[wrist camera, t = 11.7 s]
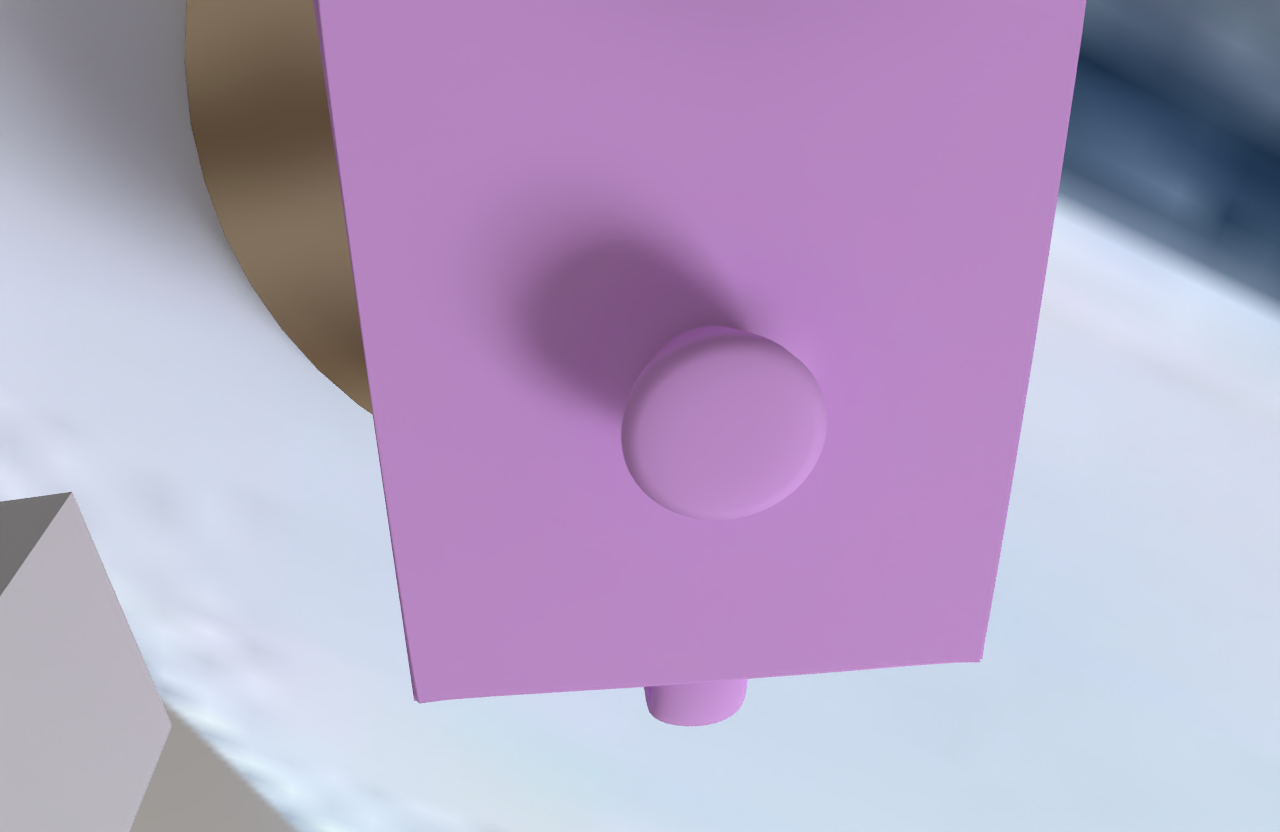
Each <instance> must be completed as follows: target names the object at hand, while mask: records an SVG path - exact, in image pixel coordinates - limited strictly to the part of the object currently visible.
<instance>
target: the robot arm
mask: <svg viewBox="0 0 1280 832" xmlns="http://www.w3.org/2000/svg"><path fill="white" fill-rule="evenodd" d="M171 726H172V725H171V722H170V720H169V718H168V715H167V713H166V711H165V708H164V706H163V704H162V701H161V699H160V697H159V694H158V692H157V690H156V687H155V685H154V683H153V680H152V678H151V675H150V673H149V671H148V668H147V666H146V664H145V661H144V659H143V657H142V654H141V652H140V650H139V647H138V645H137V643H136V640H135V638H134V636H133V633H132V631H131V629H130V626H129V624H128V622H127V619H126V617H125V615H124V612H123V610H122V608H121V605H120V603H119V601H118V598H117V596H116V594H115V591H114V589H113V587H112V584H111V582H110V580H109V577H108V575H107V573H106V570H105V568H104V566H103V563H102V561H101V558H100V556H99V554H98V551H97V549H96V547H95V544H94V542H93V540H92V537H91V535H90V533H89V530H88V528H87V526H86V523H85V521H84V519H83V516H82V514H81V512H80V509H79V507H78V505H77V502H76V500H75V498H74V495H73V493H72V492H68V493H61V494H54V495H46V496H39V497H32V498H25V499H18V500H10V501H3V502H0V832H129V831H130V829H131V826H132V824H133V821H134V818H135V816H136V814H137V811H138V808H139V806H140V804H141V801H142V799H143V796H144V794H145V791H146V789H147V786H148V784H149V781H150V779H151V776H152V774H153V771H154V769H155V767H156V764H157V762H158V759H159V757H160V754H161V752H162V749H163V747H164V744H165V742H166V739H167V737H168V734H169V732H170V729H171Z"/></svg>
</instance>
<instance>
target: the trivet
mask: <svg viewBox="0 0 1280 832" xmlns="http://www.w3.org/2000/svg"><path fill="white" fill-rule="evenodd" d="M185 71H186V81H187V91H188V101H189V111H190V120H191V126H192V130H193V135H194V139H195V143H196V147H197V152H198V156H199V160H200V164H201V169H202V173H203V177H204V181H205V184H206V186H207V189H208V192H209V194H210V197H211V200H212V202H213V205H214V208H215V210H216V213H217V216H218V218H219V221H220V224H221V226H222V229H223V232H224V234H225V236H226V238H227V240H228V242H229V244H230V246H231V248H232V250H233V252H234V254H235V255H236V257H237V259H238V261H239V263H240V265H241V267H242V269H243V271H244V272H245V274H246V276H247V278H248V280H249V282H250V284H251V286H252V287H253V288H254V290H255V291H256V293H257V294H258V296H259V297H260V298H261V300H262V301H263V303H264V304H265V306H266V307H267V308H268V310H269V311H270V313H271V314H272V316H273V317H274V318H275V320H276V321H277V323H278V324H279V326H280V327H281V329H282V330H283V331H284V332H285V333H286V334H287V335H288V337H289V338H290V339H291V340H292V341H293V342H294V343H295V344H296V346H297V347H298V348H299V349H300V350H301V351H302V352H303V353H304V354H305V356H306V357H307V358H308V359H309V360H310V361H311V362H312V363H313V364H314V366H315V367H316V368H317V369H318V370H319V371H320V372H321V373H323V374H324V375H325V376H326V377H327V378H328V379H329V380H331V381H332V382H333V383H334V384H335V385H336V386H337V387H339V388H340V389H341V390H342V391H343V392H344V393H345V394H347V395H348V396H349V397H350V398H351V399H352V400H353V401H355V402H356V403H357V404H358V405H360V406H361V407H363V408H364V409H365V410H367V411H368V412H370V413H371V414H373V412H372V405H371V398H370V391H369V384H368V377H367V371H366V364H365V357H364V350H363V343H362V336H361V329H360V322H359V315H358V308H357V301H356V294H355V288H354V281H353V274H352V267H351V260H350V253H349V246H348V239H347V232H346V225H345V218H344V211H343V205H342V198H341V191H340V184H339V177H338V170H337V163H336V156H335V149H334V142H333V135H332V128H331V121H330V115H329V108H328V101H327V94H326V87H325V80H324V73H323V66H322V59H321V52H320V45H319V38H318V31H317V24H316V18H315V11H314V4H313V0H187V1H186V33H185Z"/></svg>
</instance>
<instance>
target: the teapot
mask: <svg viewBox="0 0 1280 832" xmlns="http://www.w3.org/2000/svg"><path fill="white" fill-rule="evenodd" d="M313 4H314V11H315V18H316V24H317V31H318V38H319V45H320V52H321V59H322V66H323V73H324V80H325V87H326V94H327V101H328V108H329V115H330V121H331V128H332V135H333V142H334V149H335V156H336V163H337V170H338V177H339V184H340V191H341V198H342V205H343V211H344V218H345V225H346V232H347V239H348V246H349V253H350V260H351V267H352V274H353V281H354V288H355V294H356V301H357V308H358V315H359V322H360V329H361V336H362V343H363V350H364V357H365V364H366V371H367V377H368V384H369V391H370V398H371V405H372V412H373V419H374V426H375V433H376V440H377V447H378V453H379V460H380V467H381V474H382V481H383V488H384V495H385V502H386V509H387V516H388V523H389V530H390V536H391V543H392V550H393V557H394V564H395V571H396V578H397V585H398V592H399V599H400V605H401V612H402V619H403V626H404V633H405V640H406V647H407V654H408V661H409V668H410V674H411V681H412V688H413V695H414V701H417V702H419V703H426V702H433V701H440V700H449V699H462V698H475V697H489V696H504V695H520V694H536V693H552V692H568V691H584V690H600V689H616V688H632V687H644V690H645V697H646V702H647V706H648V709H649V712H650V713H651V714H652V716H653V717H655V718H656V719H658V720H659V721H662V722H665V723H668V724H673V725H678V726H701V725H708V724H713V723H717V722H719V721H722V720H725V719H727V718H728V717H730V716H732V715H733V714H734V713H735V712H737V711H738V710H739V708H740V707H741V705H742V703H743V701H744V698H745V693H746V688H747V679H750V678H763V677H776V676H789V675H802V674H815V673H828V672H841V671H853V670H865V669H877V668H889V667H901V666H913V665H927V664H941V663H956V662H980V660H981V659H982V656H983V650H984V643H985V637H986V632H987V627H988V621H989V616H990V610H991V605H992V599H993V593H994V587H995V582H996V576H997V570H998V564H999V558H1000V552H1001V546H1002V540H1003V535H1004V529H1005V523H1006V517H1007V511H1008V505H1009V499H1010V493H1011V487H1012V480H1013V474H1014V468H1015V462H1016V456H1017V450H1018V444H1019V438H1020V432H1021V426H1022V420H1023V414H1024V408H1025V401H1026V395H1027V389H1028V383H1029V377H1030V371H1031V364H1032V358H1033V352H1034V345H1035V339H1036V333H1037V326H1038V320H1039V313H1040V307H1041V301H1042V294H1043V288H1044V281H1045V275H1046V268H1047V262H1048V256H1049V249H1050V243H1051V236H1052V230H1053V223H1054V217H1055V210H1056V204H1057V197H1058V191H1059V184H1060V178H1061V171H1062V164H1063V158H1064V151H1065V145H1066V138H1067V131H1068V125H1069V118H1070V111H1071V105H1072V98H1073V91H1074V85H1075V78H1076V71H1077V64H1078V57H1079V50H1080V43H1081V36H1082V29H1083V22H1084V15H1085V7H1086V0H313Z"/></svg>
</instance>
